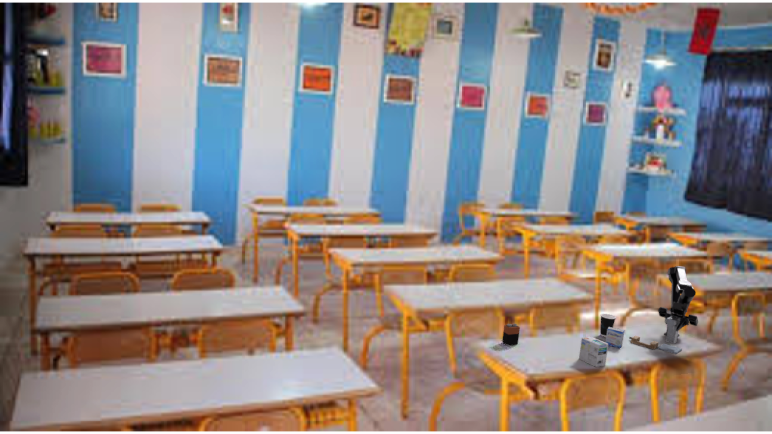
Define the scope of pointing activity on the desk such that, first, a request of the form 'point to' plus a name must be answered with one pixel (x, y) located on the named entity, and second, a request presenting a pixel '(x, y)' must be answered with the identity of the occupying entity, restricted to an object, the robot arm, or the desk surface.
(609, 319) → the dixie cup
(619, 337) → the medicine box
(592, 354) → the light bulb box
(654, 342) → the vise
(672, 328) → the grey stone block
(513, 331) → the battery
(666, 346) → the mat
